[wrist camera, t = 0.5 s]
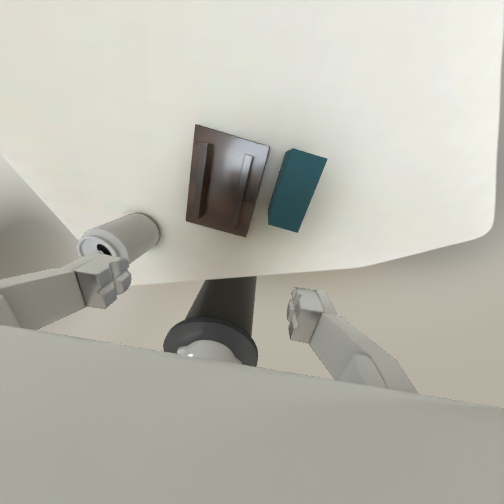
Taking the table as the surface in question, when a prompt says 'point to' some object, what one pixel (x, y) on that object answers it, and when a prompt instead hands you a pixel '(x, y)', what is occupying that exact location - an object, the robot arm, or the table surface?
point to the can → (121, 238)
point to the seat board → (224, 180)
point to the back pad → (294, 189)
